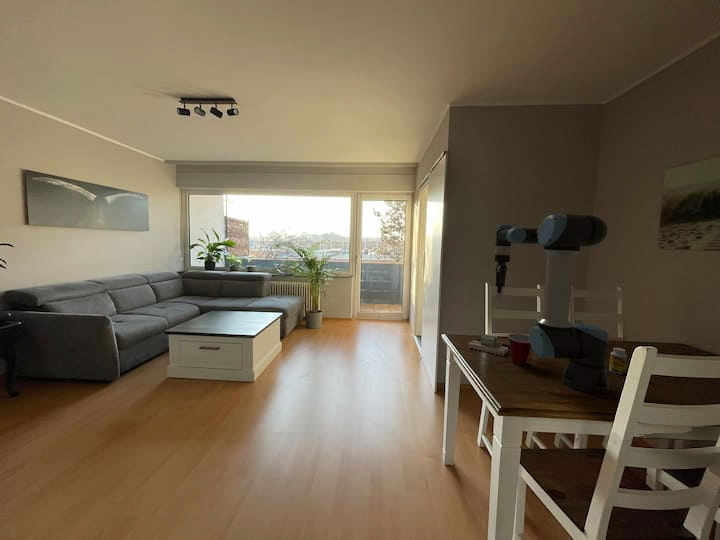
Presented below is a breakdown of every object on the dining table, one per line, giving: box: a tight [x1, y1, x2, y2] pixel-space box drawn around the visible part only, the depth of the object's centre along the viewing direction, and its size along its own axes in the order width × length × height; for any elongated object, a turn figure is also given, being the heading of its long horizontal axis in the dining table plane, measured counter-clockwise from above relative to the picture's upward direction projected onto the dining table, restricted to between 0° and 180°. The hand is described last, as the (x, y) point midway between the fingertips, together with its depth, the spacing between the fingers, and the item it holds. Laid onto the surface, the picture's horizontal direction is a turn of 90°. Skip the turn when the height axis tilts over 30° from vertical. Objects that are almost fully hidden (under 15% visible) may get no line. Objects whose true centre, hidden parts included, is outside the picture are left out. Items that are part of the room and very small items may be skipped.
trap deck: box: [468, 334, 511, 357], centre depth 167 cm, size 20×17×2 cm
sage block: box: [481, 333, 498, 347], centre depth 163 cm, size 7×6×4 cm
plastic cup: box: [507, 333, 532, 366], centre depth 146 cm, size 11×11×12 cm
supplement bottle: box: [608, 347, 628, 375], centre depth 138 cm, size 6×6×10 cm
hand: (499, 298), depth 171 cm, fingers closed
